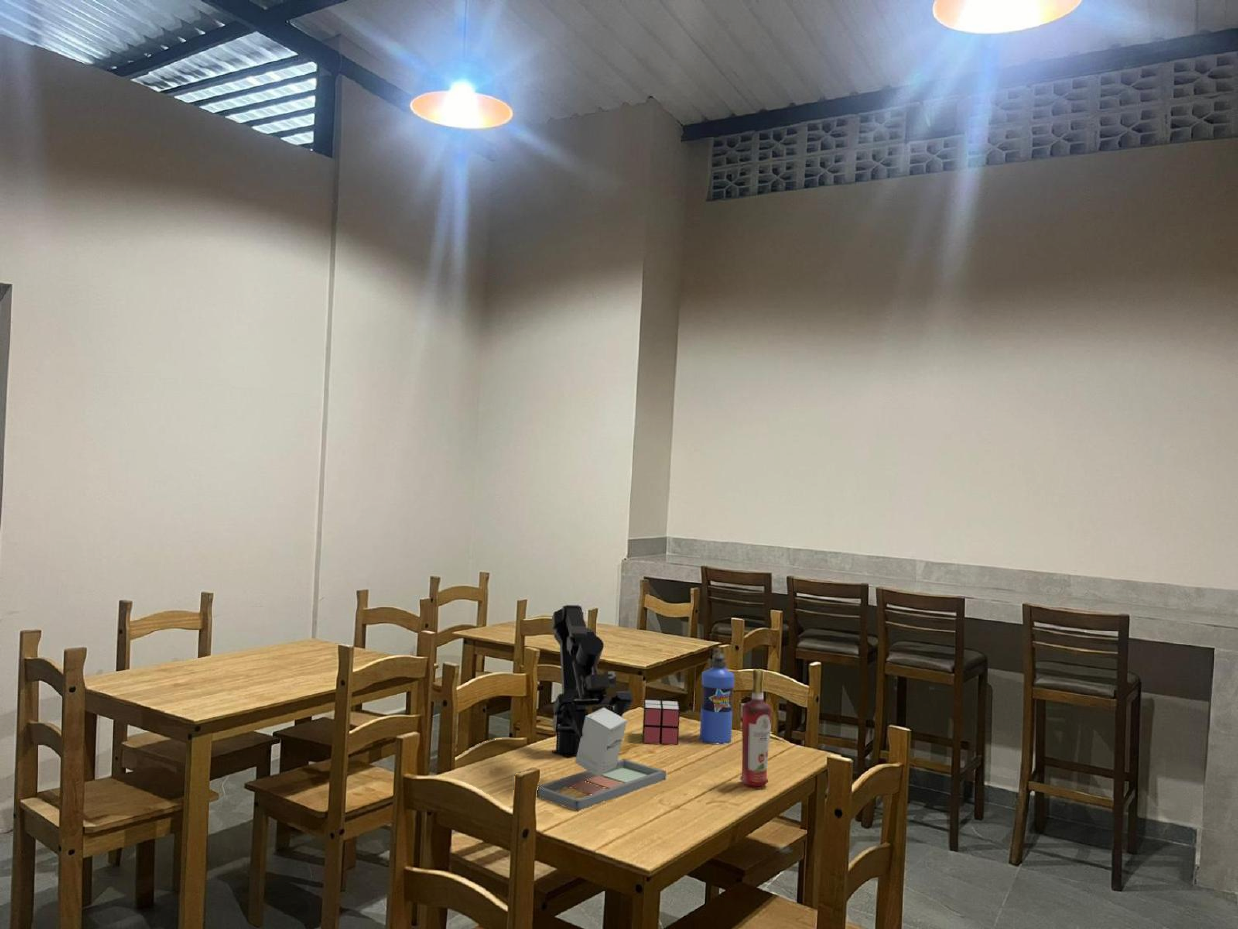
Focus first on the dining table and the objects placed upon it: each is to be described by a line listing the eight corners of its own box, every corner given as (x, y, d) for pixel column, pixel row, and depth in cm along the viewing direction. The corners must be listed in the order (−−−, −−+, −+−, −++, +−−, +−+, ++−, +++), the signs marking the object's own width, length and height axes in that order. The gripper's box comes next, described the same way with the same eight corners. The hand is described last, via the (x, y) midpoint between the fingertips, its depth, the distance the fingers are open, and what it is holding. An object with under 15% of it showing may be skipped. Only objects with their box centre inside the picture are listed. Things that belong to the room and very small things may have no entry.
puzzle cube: (678, 745, 252) (679, 709, 252) (642, 743, 252) (644, 707, 252) (676, 736, 262) (678, 701, 262) (642, 734, 262) (643, 699, 262)
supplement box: (598, 778, 207) (609, 729, 204) (574, 763, 211) (584, 715, 208) (617, 767, 213) (628, 719, 210) (593, 753, 217) (603, 706, 214)
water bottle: (695, 735, 263) (699, 649, 264) (726, 735, 265) (729, 650, 265) (704, 744, 254) (708, 655, 255) (735, 744, 256) (739, 656, 256)
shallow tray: (534, 795, 205) (534, 787, 205) (623, 766, 230) (623, 759, 230) (578, 811, 196) (578, 802, 196) (665, 779, 221) (666, 771, 221)
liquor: (759, 779, 225) (764, 666, 226) (774, 788, 218) (779, 672, 219) (733, 781, 222) (738, 667, 223) (748, 791, 215) (753, 673, 216)
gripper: (559, 660, 212) (571, 720, 202) (632, 658, 219) (647, 715, 209) (547, 685, 220) (558, 744, 209) (618, 682, 226) (633, 739, 216)
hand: (600, 735), depth 211 cm, fingers closed on supplement box, 9 cm apart
